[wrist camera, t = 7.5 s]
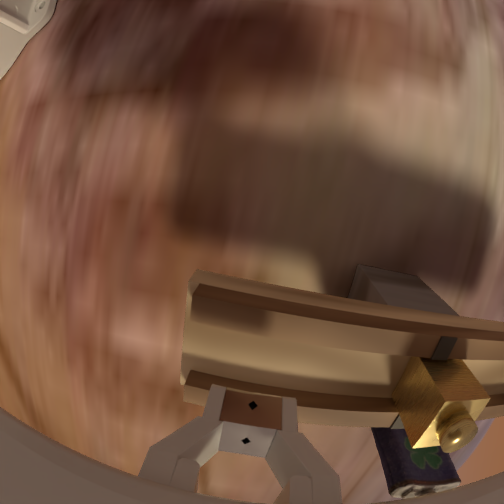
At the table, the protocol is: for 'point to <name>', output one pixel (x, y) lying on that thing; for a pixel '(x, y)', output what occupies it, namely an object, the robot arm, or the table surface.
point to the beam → (330, 344)
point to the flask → (413, 465)
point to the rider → (439, 403)
